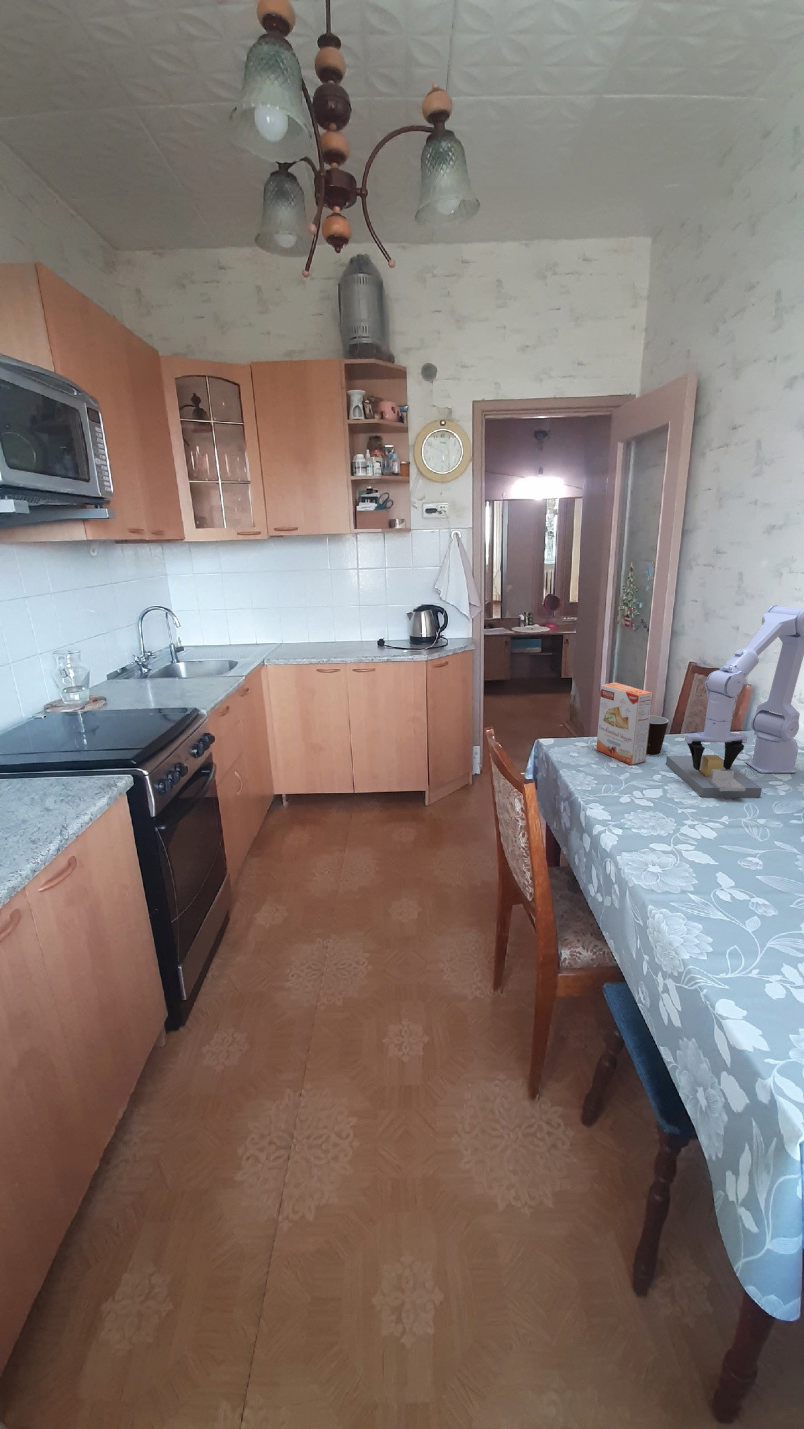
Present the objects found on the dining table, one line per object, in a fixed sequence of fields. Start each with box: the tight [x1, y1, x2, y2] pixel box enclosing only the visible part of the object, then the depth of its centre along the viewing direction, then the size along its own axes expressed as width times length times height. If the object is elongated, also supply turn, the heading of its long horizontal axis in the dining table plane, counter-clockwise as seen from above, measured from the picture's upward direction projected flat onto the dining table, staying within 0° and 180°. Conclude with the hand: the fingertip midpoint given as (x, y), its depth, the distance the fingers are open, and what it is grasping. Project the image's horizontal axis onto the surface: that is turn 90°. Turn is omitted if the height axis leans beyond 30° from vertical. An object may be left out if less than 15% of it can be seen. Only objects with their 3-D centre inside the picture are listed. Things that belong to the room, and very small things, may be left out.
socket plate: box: [665, 755, 763, 798], centre depth 149 cm, size 14×22×2 cm, turn 177°
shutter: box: [708, 769, 746, 791], centre depth 139 cm, size 6×6×3 cm
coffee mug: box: [646, 714, 669, 756], centre depth 170 cm, size 12×9×10 cm
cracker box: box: [595, 681, 654, 766], centre depth 164 cm, size 14×6×21 cm, turn 25°
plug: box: [700, 754, 724, 777], centre depth 147 cm, size 4×4×7 cm
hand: (711, 768), depth 146 cm, fingers open, 7 cm apart
